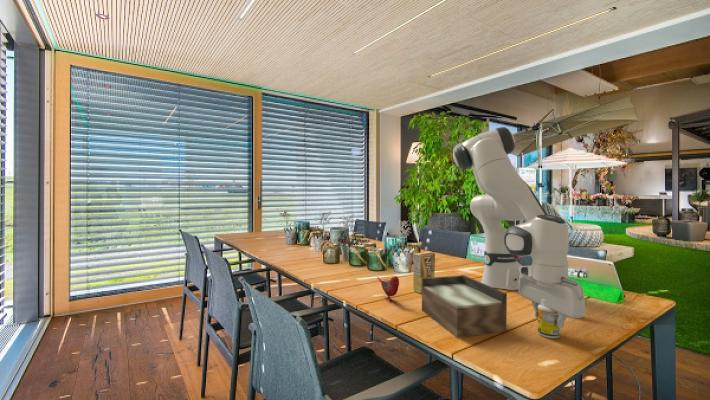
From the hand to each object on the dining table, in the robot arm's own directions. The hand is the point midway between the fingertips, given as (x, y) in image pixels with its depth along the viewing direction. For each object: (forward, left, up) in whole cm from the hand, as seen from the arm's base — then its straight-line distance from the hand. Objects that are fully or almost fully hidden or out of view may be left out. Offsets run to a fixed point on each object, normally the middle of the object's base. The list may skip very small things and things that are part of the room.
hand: (548, 322), depth 96 cm
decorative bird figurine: (+33, -42, -4) cm, 53 cm away
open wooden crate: (+18, -16, -4) cm, 24 cm away
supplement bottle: (0, 0, -4) cm, 4 cm away
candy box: (+15, -48, -4) cm, 50 cm away
